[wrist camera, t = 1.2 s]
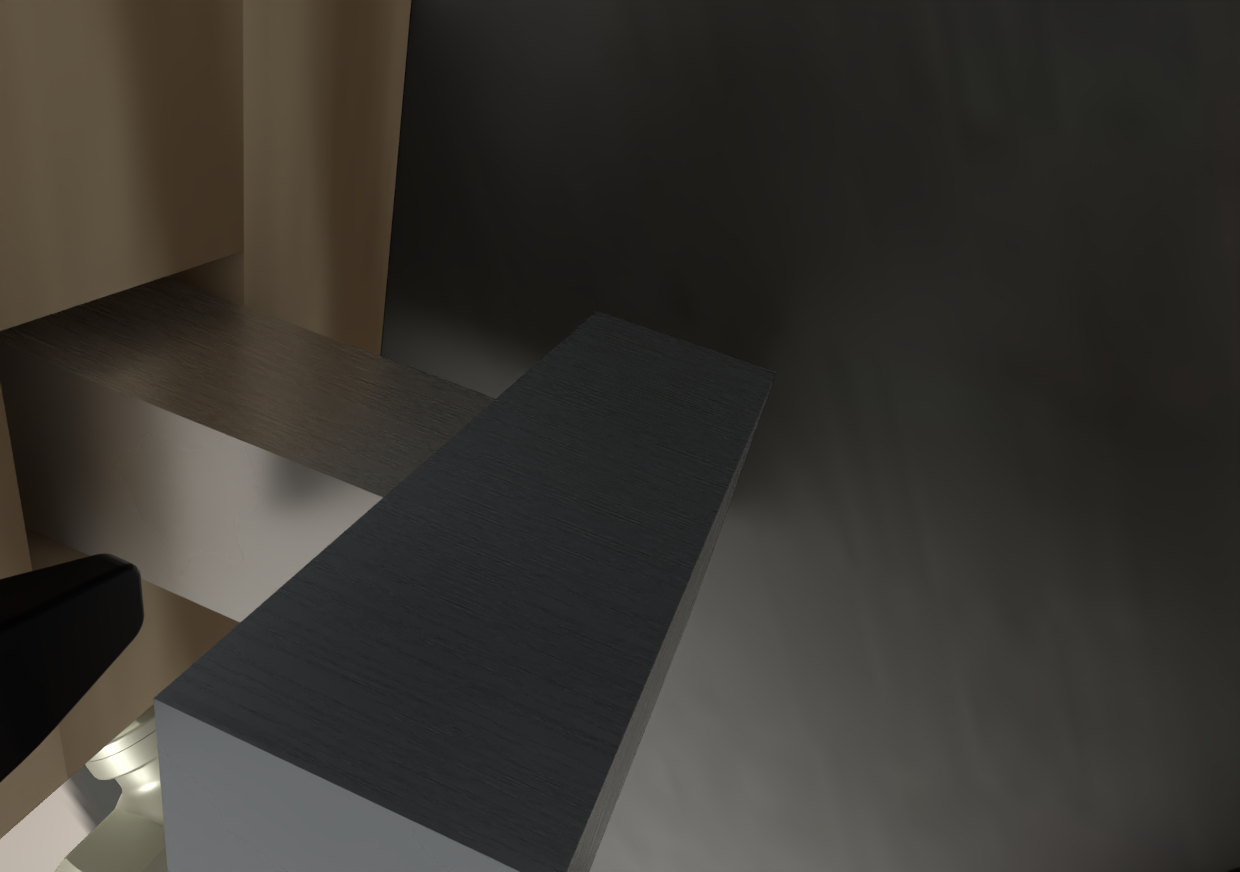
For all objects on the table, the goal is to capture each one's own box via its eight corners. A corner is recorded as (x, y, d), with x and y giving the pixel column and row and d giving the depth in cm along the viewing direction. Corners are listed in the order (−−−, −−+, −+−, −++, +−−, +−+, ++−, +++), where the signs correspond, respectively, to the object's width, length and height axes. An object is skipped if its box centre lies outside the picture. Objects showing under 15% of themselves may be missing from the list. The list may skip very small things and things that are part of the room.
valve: (388, 771, 25) (180, 426, 22) (237, 983, 20) (-76, 564, 16) (241, 782, 28) (36, 477, 25) (72, 970, 23) (-225, 610, 19)
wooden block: (411, -11, 15) (-255, -60, 7) (366, 516, 21) (-15, 851, 12) (224, -64, 16) (-601, -170, 7) (231, 461, 22) (-217, 744, 13)
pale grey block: (776, 372, 13) (558, 890, 5) (691, 612, 15) (458, 1204, 8) (-89, 76, 16) (-1061, 124, 8) (-43, 318, 18) (-751, 533, 10)
